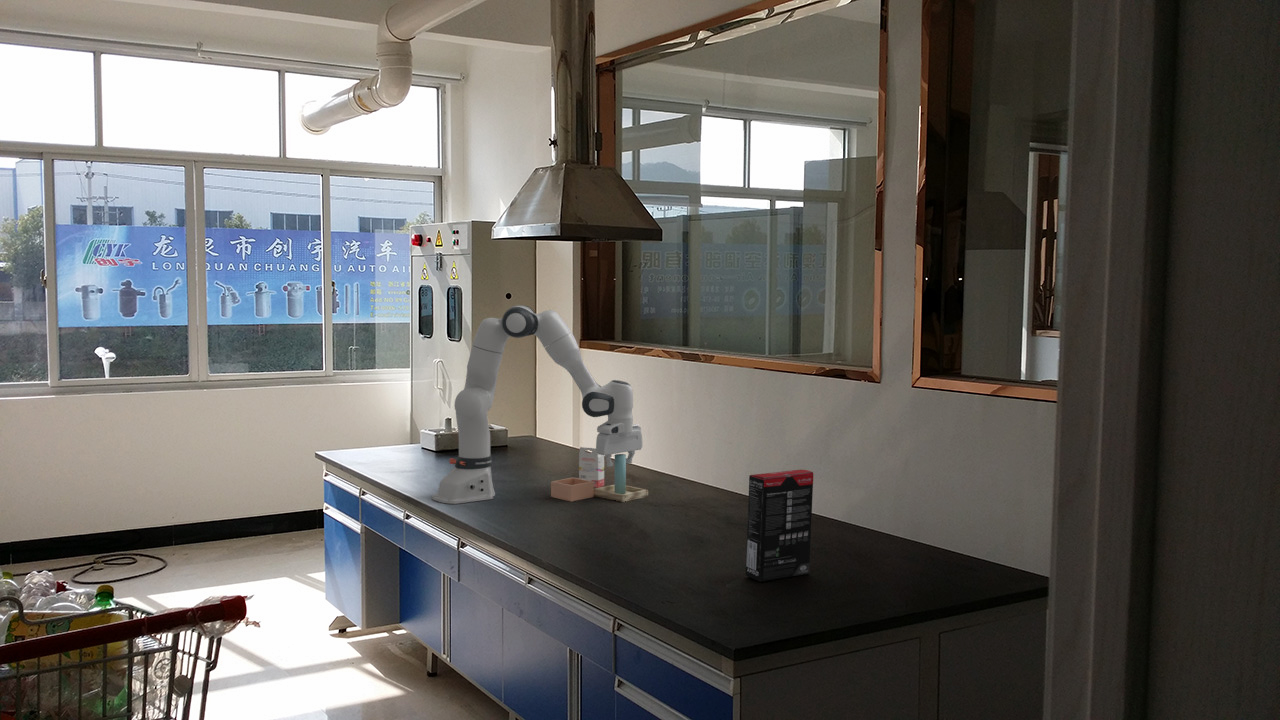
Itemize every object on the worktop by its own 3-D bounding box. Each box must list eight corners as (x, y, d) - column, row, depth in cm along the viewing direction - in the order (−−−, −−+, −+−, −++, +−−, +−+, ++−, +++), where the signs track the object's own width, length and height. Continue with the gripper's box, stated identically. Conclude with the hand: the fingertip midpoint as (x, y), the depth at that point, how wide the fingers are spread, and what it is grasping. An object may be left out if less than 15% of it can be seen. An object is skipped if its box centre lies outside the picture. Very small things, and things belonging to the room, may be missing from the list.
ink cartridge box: (604, 485, 370) (605, 446, 369) (598, 488, 365) (598, 448, 364) (585, 483, 374) (585, 445, 373) (578, 486, 369) (578, 447, 368)
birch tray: (622, 502, 342) (622, 495, 342) (592, 495, 353) (592, 488, 352) (648, 496, 352) (648, 489, 352) (618, 490, 362) (618, 483, 362)
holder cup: (571, 501, 343) (571, 485, 343) (551, 496, 350) (551, 481, 350) (593, 496, 351) (593, 481, 350) (573, 492, 358) (573, 477, 357)
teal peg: (620, 495, 349) (620, 456, 348) (612, 493, 352) (612, 454, 351) (628, 493, 352) (628, 454, 351) (620, 492, 355) (620, 453, 354)
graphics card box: (795, 567, 265) (796, 467, 263) (812, 574, 259) (814, 471, 257) (744, 577, 256) (746, 473, 254) (761, 584, 250) (763, 477, 248)
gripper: (634, 422, 360) (633, 460, 361) (593, 427, 345) (592, 467, 346) (646, 424, 356) (646, 462, 357) (606, 430, 341) (605, 469, 342)
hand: (619, 464), depth 351 cm, fingers open, 8 cm apart
